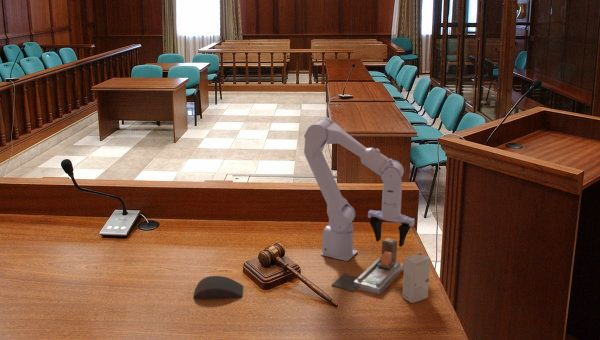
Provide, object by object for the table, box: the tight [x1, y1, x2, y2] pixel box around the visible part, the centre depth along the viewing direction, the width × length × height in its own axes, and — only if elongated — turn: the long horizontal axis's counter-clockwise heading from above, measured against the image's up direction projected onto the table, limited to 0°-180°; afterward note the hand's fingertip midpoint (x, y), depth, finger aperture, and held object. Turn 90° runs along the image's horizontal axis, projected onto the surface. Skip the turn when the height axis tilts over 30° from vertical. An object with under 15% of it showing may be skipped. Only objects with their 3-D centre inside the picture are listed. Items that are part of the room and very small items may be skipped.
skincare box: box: [402, 252, 431, 304], centre depth 168 cm, size 6×4×12 cm
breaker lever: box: [377, 251, 396, 269], centre depth 183 cm, size 4×4×4 cm
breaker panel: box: [354, 257, 404, 296], centre depth 180 cm, size 8×18×3 cm, turn 149°
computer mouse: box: [192, 275, 244, 300], centre depth 172 cm, size 8×14×4 cm, turn 93°
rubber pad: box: [331, 273, 359, 293], centre depth 178 cm, size 7×8×1 cm
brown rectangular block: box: [381, 237, 398, 262], centre depth 190 cm, size 4×4×7 cm
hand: (389, 242), depth 189 cm, fingers open, 7 cm apart
